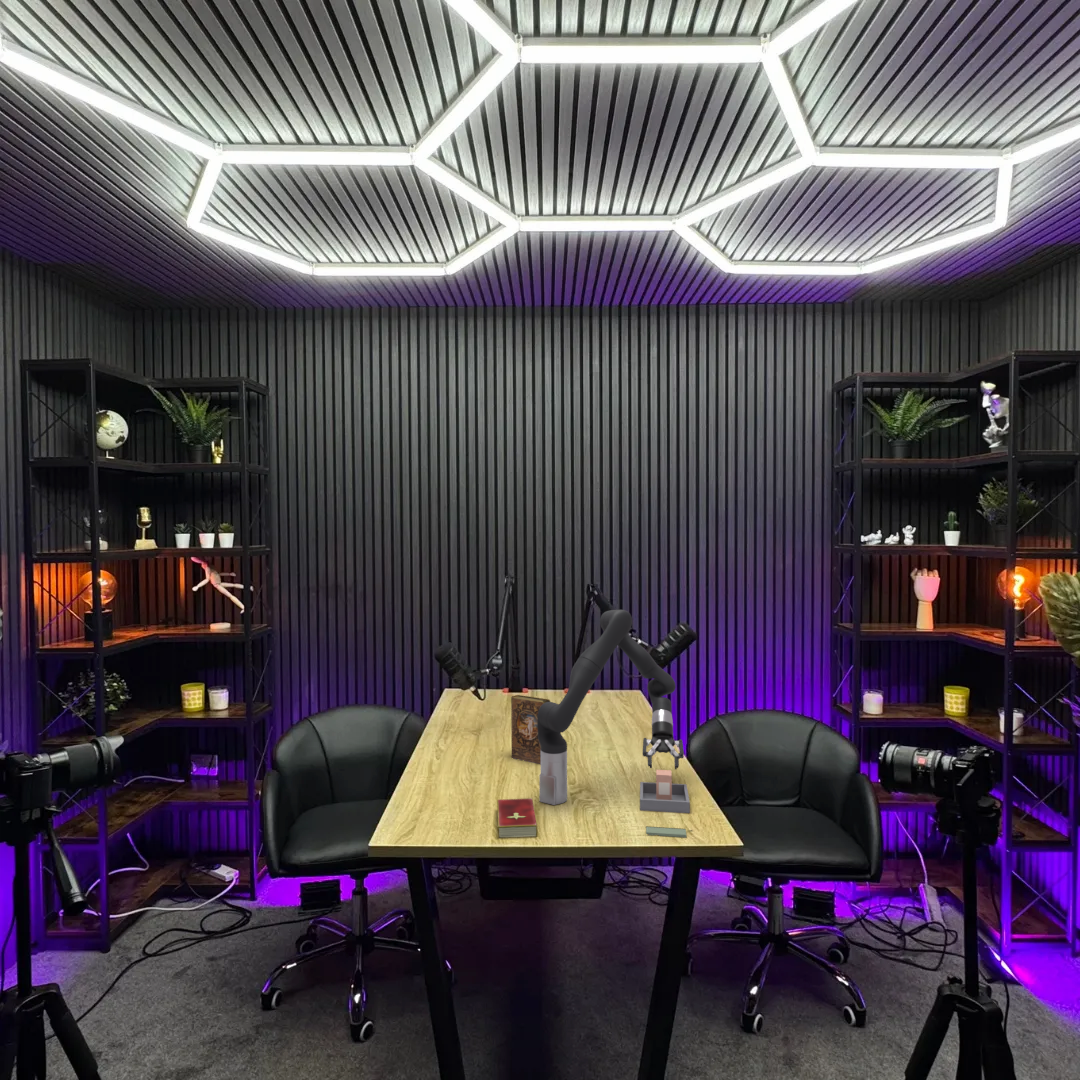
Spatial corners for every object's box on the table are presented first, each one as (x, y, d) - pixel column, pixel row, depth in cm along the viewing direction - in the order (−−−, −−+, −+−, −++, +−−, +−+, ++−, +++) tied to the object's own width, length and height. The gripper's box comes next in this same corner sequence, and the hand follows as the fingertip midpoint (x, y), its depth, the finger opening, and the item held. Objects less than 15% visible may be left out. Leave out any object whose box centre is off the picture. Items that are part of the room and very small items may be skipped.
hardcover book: (532, 809, 224) (532, 797, 224) (537, 838, 203) (537, 824, 203) (497, 811, 223) (497, 798, 223) (498, 839, 202) (498, 825, 202)
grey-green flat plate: (686, 837, 202) (686, 834, 202) (646, 834, 204) (646, 832, 204) (684, 820, 214) (684, 818, 214) (646, 818, 216) (646, 816, 216)
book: (509, 758, 275) (509, 697, 275) (516, 754, 280) (516, 694, 280) (543, 764, 267) (543, 702, 267) (550, 760, 272) (550, 699, 271)
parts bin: (689, 816, 218) (689, 802, 218) (639, 813, 220) (639, 799, 220) (686, 797, 234) (686, 784, 233) (640, 794, 236) (640, 781, 236)
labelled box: (671, 805, 224) (671, 775, 224) (656, 804, 225) (656, 775, 224) (671, 799, 229) (671, 770, 229) (656, 798, 230) (656, 769, 230)
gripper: (642, 719, 241) (642, 761, 230) (682, 720, 239) (684, 763, 228) (642, 729, 247) (642, 771, 235) (681, 731, 244) (683, 773, 233)
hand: (663, 767), depth 232 cm, fingers open, 8 cm apart
